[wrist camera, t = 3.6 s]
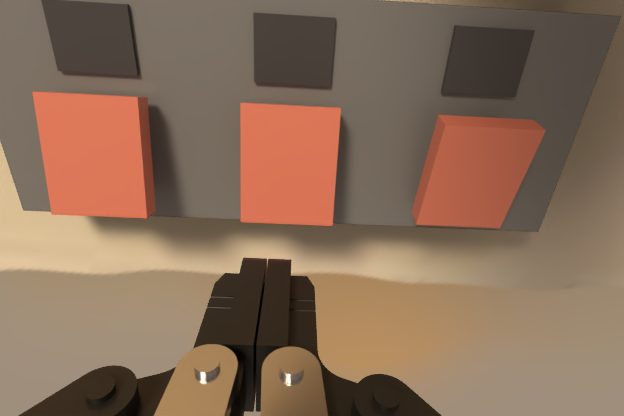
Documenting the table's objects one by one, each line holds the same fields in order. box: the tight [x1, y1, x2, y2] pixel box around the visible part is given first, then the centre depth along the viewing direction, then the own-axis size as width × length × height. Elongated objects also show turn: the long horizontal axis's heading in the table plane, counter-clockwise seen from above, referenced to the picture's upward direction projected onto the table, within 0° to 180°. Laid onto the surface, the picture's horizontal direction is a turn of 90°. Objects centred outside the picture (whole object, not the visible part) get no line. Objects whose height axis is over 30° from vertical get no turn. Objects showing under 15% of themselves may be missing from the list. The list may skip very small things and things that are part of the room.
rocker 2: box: [240, 102, 341, 226], centre depth 16 cm, size 4×5×1 cm
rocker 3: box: [412, 115, 546, 228], centre depth 17 cm, size 4×5×1 cm
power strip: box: [0, 0, 621, 232], centre depth 18 cm, size 30×10×4 cm, turn 87°
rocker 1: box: [32, 92, 156, 218], centre depth 16 cm, size 4×5×1 cm
